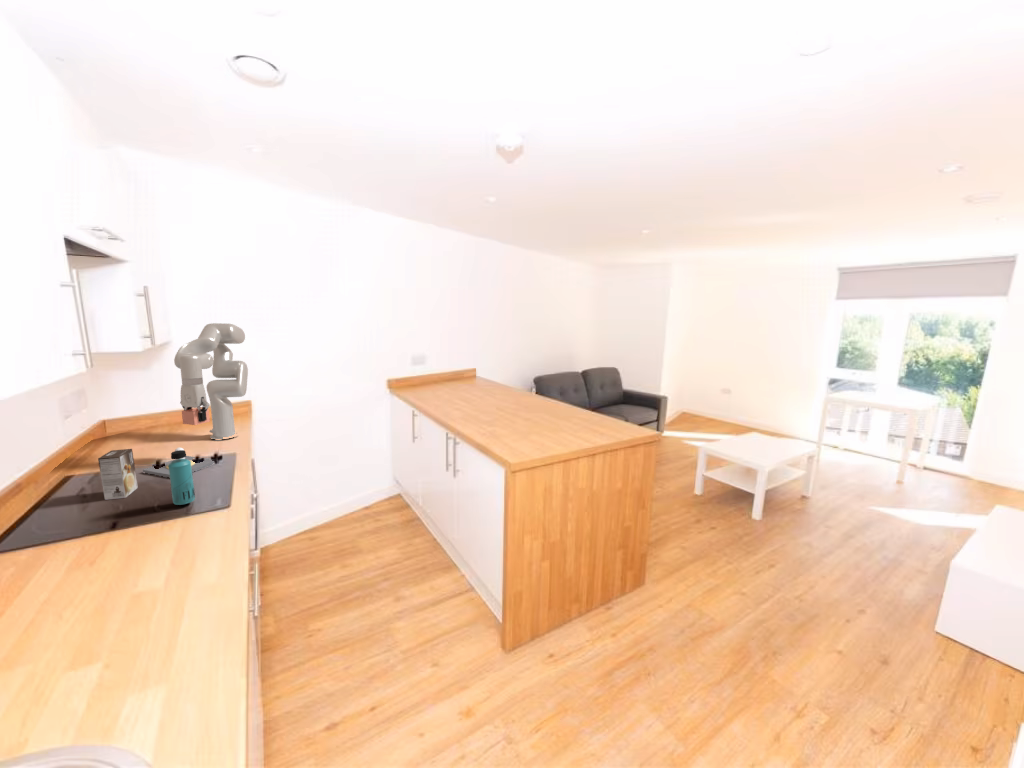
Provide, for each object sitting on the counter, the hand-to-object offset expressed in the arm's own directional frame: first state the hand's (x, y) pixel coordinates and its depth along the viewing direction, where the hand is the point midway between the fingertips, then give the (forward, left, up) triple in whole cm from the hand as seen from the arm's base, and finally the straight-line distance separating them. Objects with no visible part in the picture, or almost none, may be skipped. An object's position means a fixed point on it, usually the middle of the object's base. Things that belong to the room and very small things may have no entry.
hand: (196, 419), depth 186 cm
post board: (+5, -12, -18) cm, 22 cm away
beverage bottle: (+40, -36, -19) cm, 57 cm away
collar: (0, 0, -1) cm, 1 cm away
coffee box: (+10, -37, -19) cm, 42 cm away
